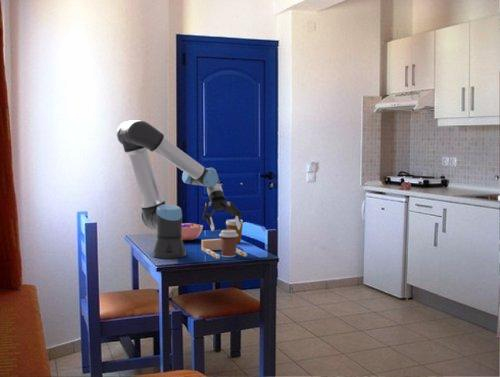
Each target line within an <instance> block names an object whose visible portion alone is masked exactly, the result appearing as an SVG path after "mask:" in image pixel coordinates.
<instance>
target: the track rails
mask: <svg viewBox="0 0 500 377" xmlns="http://www.w3.org/2000/svg"><path fill="white" fill-rule="evenodd" d="M202 252H205V253H206V254H208V255H209V256H211V257H213V258H215V259H216V260H217V259H219V260H220V259H221V255H220V254H219V253H216V252H215V251H214V250H209V249H208V248H203V251H202ZM236 254H238V255H239V256H242V257H248V253H247V252H245V251H243V250H241V249H239V248H238V247H236Z"/></svg>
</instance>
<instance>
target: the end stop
mask: <svg viewBox="0 0 500 377" xmlns="http://www.w3.org/2000/svg"><path fill="white" fill-rule="evenodd" d="M200 240H201V242H200V243H201V246H200V247H201V249H200V250H201V251H202V252H204V251H203V248H208V249H209V250H211V251H222V250H221V238H210V239H200Z"/></svg>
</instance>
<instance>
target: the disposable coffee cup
mask: <svg viewBox="0 0 500 377" xmlns="http://www.w3.org/2000/svg"><path fill="white" fill-rule="evenodd" d="M240 220H241V222H240V225H241V228H240V230H238V228H237V225H236V222H235V218H234V219H232V218H231V219H226V221H225V226H226V230H236V233H237V234H238V237H237V243H236V245H239V244H241V241H242V235H243V234H242V232H243V225H244V221H243V219H240Z"/></svg>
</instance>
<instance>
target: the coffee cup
mask: <svg viewBox="0 0 500 377" xmlns="http://www.w3.org/2000/svg"><path fill="white" fill-rule="evenodd" d="M218 236H219V239H221V250H220V251H221V257H224V258H234V257H235V258H236V257H237V256H236V254H237V253H236V248H237V244H236V243H237V237H238V234H237V233H236V230H227V229H222V230H221V232H220V233H219V234H218Z"/></svg>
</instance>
